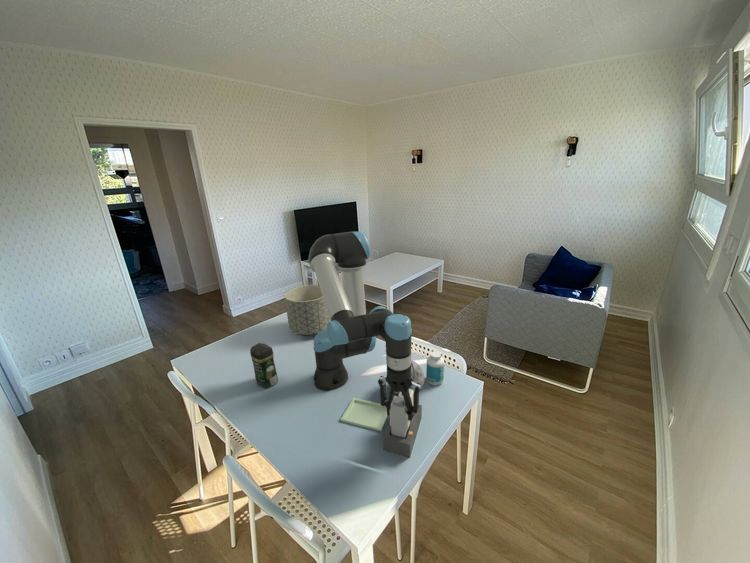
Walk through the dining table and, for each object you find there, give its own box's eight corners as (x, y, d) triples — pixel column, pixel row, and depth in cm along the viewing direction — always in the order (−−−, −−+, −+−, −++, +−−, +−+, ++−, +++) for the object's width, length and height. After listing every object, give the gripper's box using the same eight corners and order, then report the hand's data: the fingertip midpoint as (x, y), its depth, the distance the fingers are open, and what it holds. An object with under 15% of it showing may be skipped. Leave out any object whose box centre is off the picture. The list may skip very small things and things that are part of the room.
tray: (340, 422, 114) (340, 419, 113) (353, 400, 124) (353, 397, 124) (381, 432, 108) (381, 429, 108) (391, 409, 119) (391, 406, 118)
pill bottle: (443, 387, 130) (444, 359, 125) (425, 385, 131) (426, 358, 127) (443, 376, 137) (444, 350, 132) (426, 374, 138) (427, 348, 134)
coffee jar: (253, 382, 138) (245, 347, 131) (268, 373, 143) (262, 339, 137) (265, 391, 132) (258, 354, 126) (281, 381, 138) (275, 345, 131)
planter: (282, 339, 172) (276, 300, 164) (300, 319, 195) (295, 284, 187) (325, 342, 168) (321, 302, 160) (337, 321, 191) (334, 285, 183)
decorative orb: (383, 386, 132) (382, 356, 127) (413, 377, 137) (413, 348, 132) (398, 409, 119) (397, 377, 114) (430, 398, 124) (431, 367, 119)
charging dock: (383, 451, 101) (381, 416, 96) (398, 412, 117) (397, 381, 112) (409, 458, 98) (409, 423, 93) (421, 418, 114) (422, 385, 109)
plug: (391, 434, 100) (390, 403, 96) (395, 424, 104) (394, 394, 100) (404, 438, 99) (404, 406, 95) (408, 427, 103) (408, 397, 99)
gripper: (367, 366, 93) (371, 426, 100) (425, 377, 87) (424, 440, 95) (375, 353, 99) (378, 410, 107) (430, 362, 93) (428, 422, 101)
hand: (399, 424), depth 101 cm, fingers closed on plug, 4 cm apart
